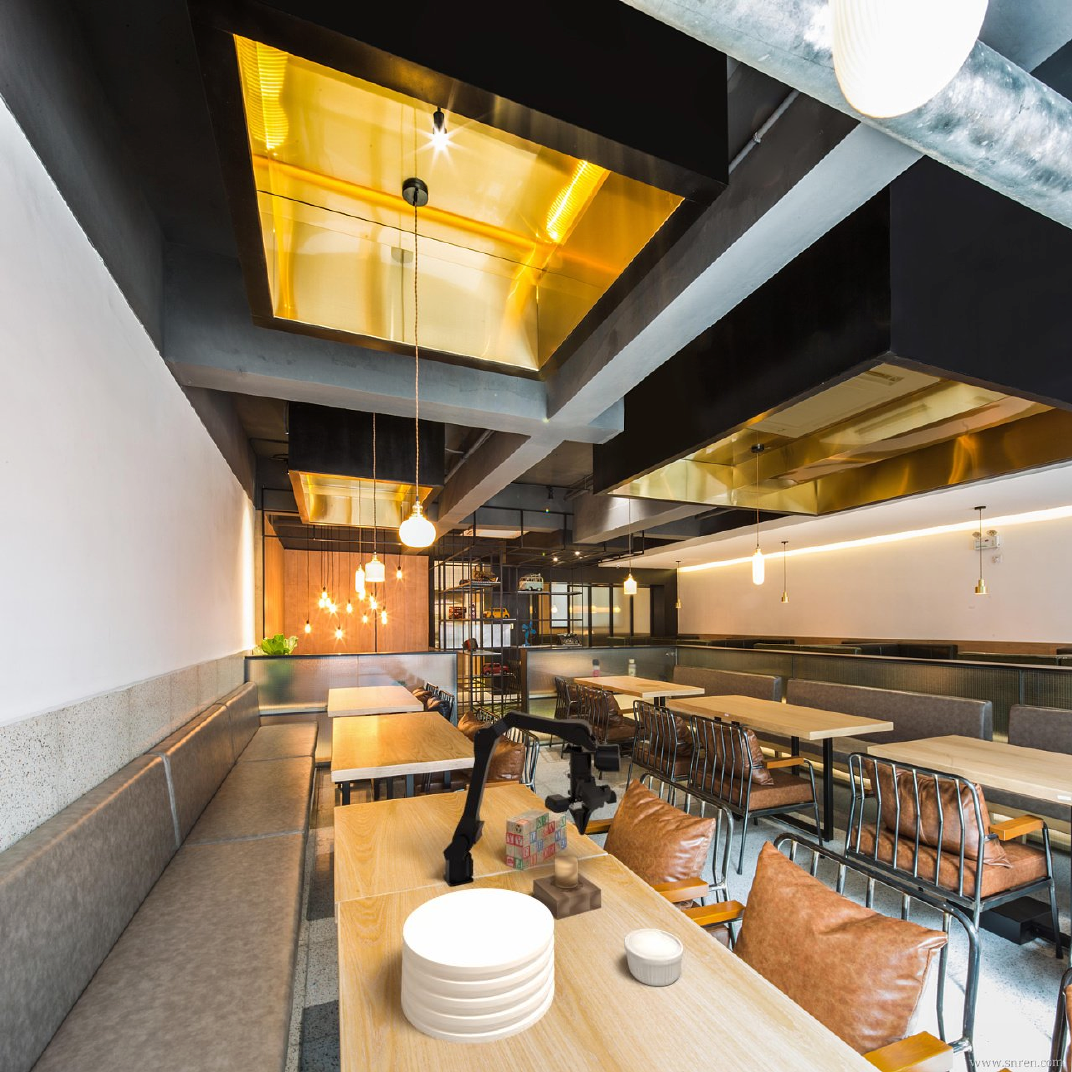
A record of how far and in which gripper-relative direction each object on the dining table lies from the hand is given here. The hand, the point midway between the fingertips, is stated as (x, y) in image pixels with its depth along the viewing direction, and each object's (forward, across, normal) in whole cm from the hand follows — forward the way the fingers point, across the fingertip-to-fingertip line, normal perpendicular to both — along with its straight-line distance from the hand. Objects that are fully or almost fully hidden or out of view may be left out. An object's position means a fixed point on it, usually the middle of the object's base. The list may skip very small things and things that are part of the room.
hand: (581, 834), depth 147 cm
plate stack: (+13, -38, -25) cm, 47 cm away
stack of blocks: (+13, 0, +24) cm, 28 cm away
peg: (+12, -7, -4) cm, 15 cm away
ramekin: (+13, -6, -36) cm, 39 cm away
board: (+13, -7, -4) cm, 15 cm away
